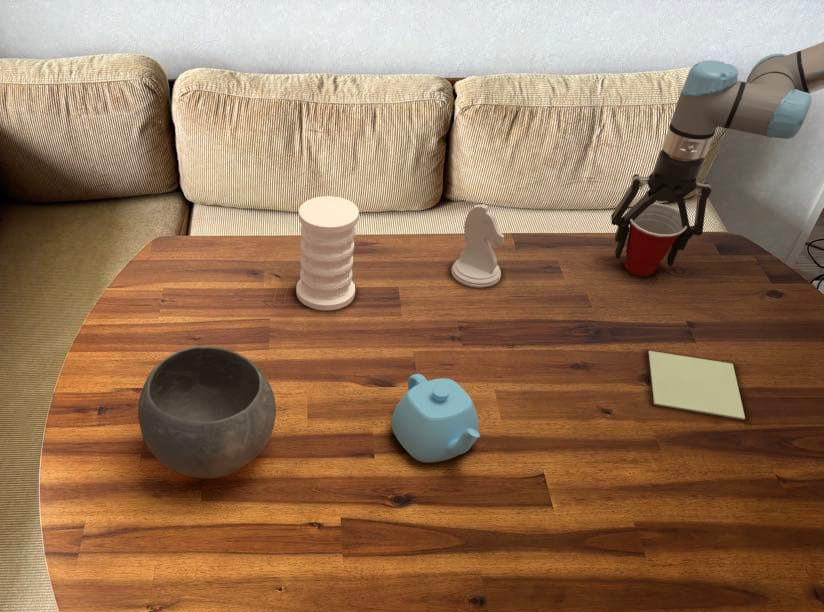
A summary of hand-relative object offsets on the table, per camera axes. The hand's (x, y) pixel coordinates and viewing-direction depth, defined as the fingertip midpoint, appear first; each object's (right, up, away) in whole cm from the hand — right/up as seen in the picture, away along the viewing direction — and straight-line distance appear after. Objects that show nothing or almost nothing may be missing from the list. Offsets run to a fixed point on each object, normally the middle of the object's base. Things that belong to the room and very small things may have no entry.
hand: (643, 258), depth 155 cm
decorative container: (-64, -7, -3) cm, 65 cm away
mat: (-2, -26, -23) cm, 35 cm away
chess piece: (-33, -3, +1) cm, 34 cm away
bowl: (-84, -37, -34) cm, 98 cm away
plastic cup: (0, -2, +2) cm, 3 cm away
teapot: (-48, -36, -32) cm, 68 cm away
